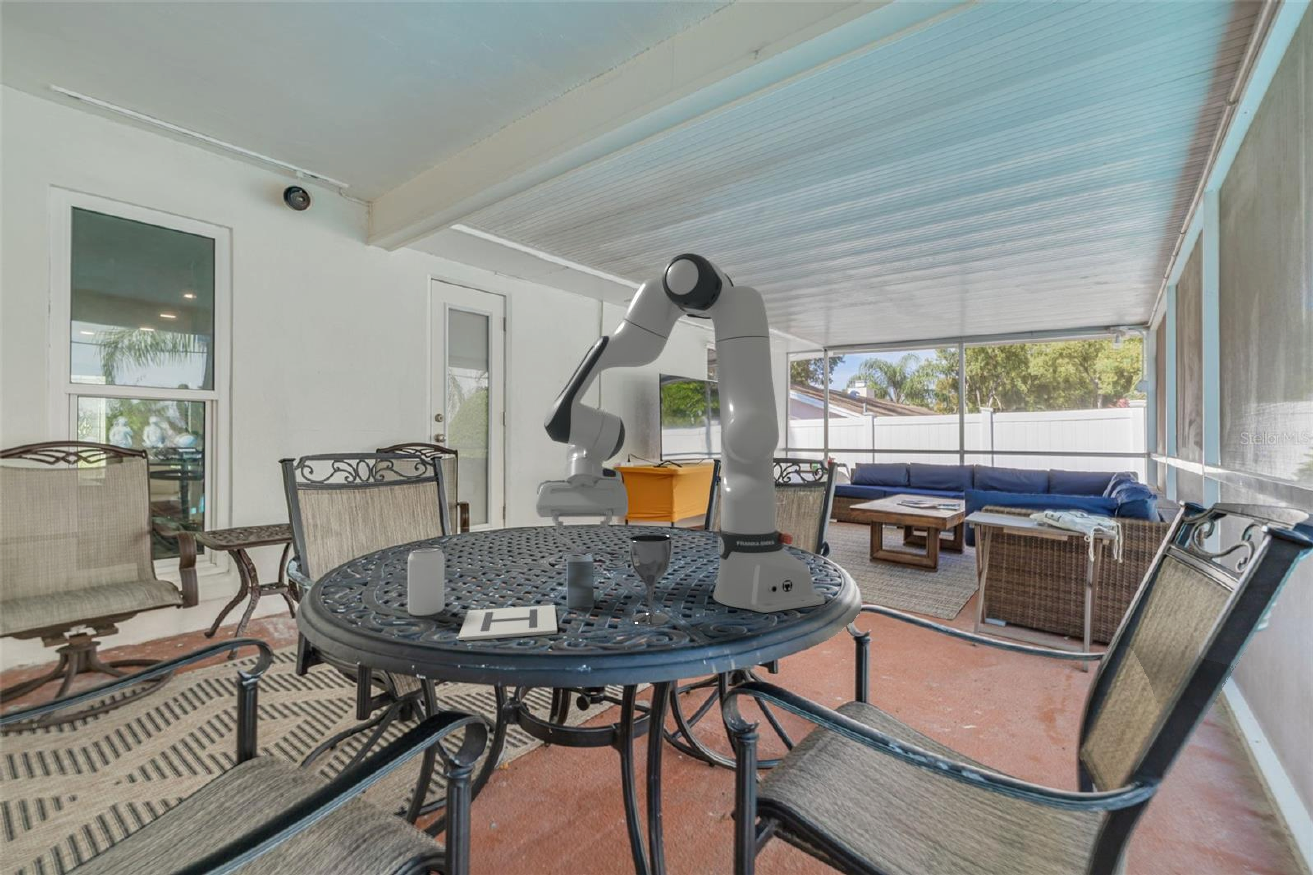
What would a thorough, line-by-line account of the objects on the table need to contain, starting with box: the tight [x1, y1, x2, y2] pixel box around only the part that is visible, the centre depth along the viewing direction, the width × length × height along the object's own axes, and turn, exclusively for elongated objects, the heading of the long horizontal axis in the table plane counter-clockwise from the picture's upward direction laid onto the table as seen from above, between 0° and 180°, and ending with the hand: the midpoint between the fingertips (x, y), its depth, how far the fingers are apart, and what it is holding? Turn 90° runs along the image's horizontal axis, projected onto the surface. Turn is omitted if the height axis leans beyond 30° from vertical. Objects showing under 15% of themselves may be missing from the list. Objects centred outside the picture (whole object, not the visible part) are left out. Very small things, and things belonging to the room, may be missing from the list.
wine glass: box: [628, 533, 673, 627], centre depth 102 cm, size 8×8×15 cm
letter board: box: [457, 604, 558, 641], centre depth 100 cm, size 16×14×1 cm
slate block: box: [566, 555, 595, 609], centre depth 112 cm, size 5×5×9 cm
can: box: [407, 545, 445, 617], centre depth 106 cm, size 6×6×12 cm
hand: (581, 530), depth 120 cm, fingers open, 8 cm apart
